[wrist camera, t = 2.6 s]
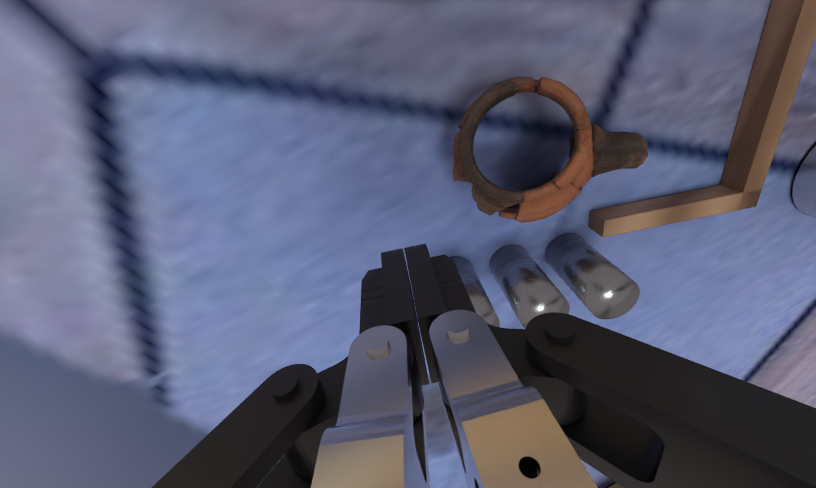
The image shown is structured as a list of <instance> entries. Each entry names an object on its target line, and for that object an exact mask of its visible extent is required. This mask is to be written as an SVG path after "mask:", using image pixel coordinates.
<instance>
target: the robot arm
mask: <svg viewBox="0 0 816 488" xmlns="http://www.w3.org/2000/svg"><path fill="white" fill-rule="evenodd" d="M792 197H793V201H794V204H795V205H796V207H797V208H798V210H800V211H801V212H803V213H804V214H807V215H810V216H813V217H816V146H815V147H814V148H813V149H812V150H811V151H810V153H809V154H808V156H807V157H806V159H805V160H804V161H803V163H802V164H801V166H800V169H799V171H798V173H797V175H796V177H795V181H794V184H793V193H792ZM405 254H406V259H407V265H408V270H409V275H410V280H409V275H408V271H407V266H406V261H405V257H404V252H403V248H402V249H397V250H392V251H388V252H383V253H381V260H382V268H378V269H374V270H369V271H368V272H367V274H366V275H365V277H364V278H363V280H362V287H361V292H362V293H361V310H360V334H359V336H357V338H356V339H355V340H354V341H353V343H352V344H351V346H350V350H349V355H348V357H346V358H345V359H344V360H342V361H341V362H339V363H338V364H336V365H334V366H332V367H330V368H328V369H325V370H323V371H321V372H319V373H316V371H315V370H314V369H313V368H312V367H311V366H309V365H306V364H294V365H290V366H287V367H284V368H282V369H280V370H278V371H277V372H275V373H274V374H272V375H271V376H270V377H269V378H267V379H266V380H265V381H264V382H263V383H262V384H261V385H260V386H259V387H258V388H257V389H256V390H255V391H254V392H253V393H252V394H250V395H249V396H248V397H247V398H246V399H245V400H244V401H243V402H242V403H241V404H240V405H239V406H238V407H237V408H236V409H235V410H233V411H232V412H231V413H230V414H229V415H228V416H227V417H226V418H225V419H224V420H223V421H222V422H221V423H220V424H219V425H218V426H217V427H215V428H214V429H213V430H212V431H211V432H210V433H209V434H208V435H207V436H206V437H205V438H204V439H203V440H202V441H201V442H200V443H198V444H197V445H196V446H195V447H194V448H193V449H192V450H191V451H190V452H189V453H188V454H187V455H186V456H185V457H184V458H183V459H181V460H180V461H179V462H178V463H177V464H176V465H175V466H174V467H173V468H172V469H171V470H170V471H169V472H168V473H167V474H166V475H164V476H163V477H162V478H161V479H160V480H159V481H158V482H157V483H156V484H155V485H154V486H153V487H152V488H256V487H257V486H258V485H259V486H258V487H257V488H430V479H429V466H428V452H427V439H426V425H425V413H424V408H423V407H424V398H423V391H422V385H426V384H429V380H428V374H427V369H426V364H425V358H424V353H423V347H422V342H421V337H422V341H423V346H424V350H425V355H426V360H427V364H428V369H429V373H430V378H431V383H435V382H439V386H440V390H441V395H442V399H443V404H444V409H445V413H446V416H447V420H448V423H449V426H450V430H451V433H452V436H453V439H454V443H455V446H456V449H457V453H458V456H459V459H460V463H461V466H462V469H463V473H464V476H465V479H466V483H467V486H468V488H598V487H597V486H596V484H595V482H594V481H593V479H592V478H591V476H590V474H589V473H588V471H587V469H586V468H585V466H584V465H583V463H582V461H581V460H583V461H584V462H586V463H587V464H589V465H590V466H592V467H593V468H595V469H596V470H598V471H599V472H601V473H602V474H604V475H605V476H607V477H608V478H610V479H611V480H613V481H615V482H616V483H618V484H619V485H621V486H622V487H624V488H816V408H813V407H811V406H808V405H806V404H803V403H800V402H798V401H795V400H792V399H790V398H787V397H785V396H782V395H779V394H777V393H774V392H772V391H769V390H766V389H764V388H761V387H758V386H756V385H753V384H751V383H748V382H745V381H743V380H740V379H737V378H735V377H732V376H730V375H727V374H724V373H722V372H719V371H716V370H714V369H711V368H709V367H706V366H703V365H701V364H698V363H695V362H693V361H690V360H688V359H685V358H682V357H680V356H677V355H674V354H672V353H669V352H667V351H664V350H661V349H659V348H656V347H653V346H651V345H648V344H646V343H643V342H640V341H638V340H635V339H632V338H630V337H627V336H625V335H622V334H619V333H617V332H614V331H612V330H609V329H606V328H604V327H601V326H598V325H596V324H593V323H591V322H588V321H585V320H583V319H580V318H577V317H575V316H572V315H569V314H565V313H557V312H550V313H544V314H540V315H538V316H536V317H534V318H532V319H531V320H530V321H529V323H528V324H527V326H526V329H507V328H500V327H496V326H493V325H490V324H488V323H486V321H485V320H484V319H483V318H482V317H481V316H480V315H478V314H477V313H476V311H475V309H474V307H473V304H472V302H471V300H470V297H469V295H468V293H467V290H466V288H465V286H464V283H463V281H462V279H461V276H460V274H459V272H458V269H457V267H456V265H455V262H454V261H453V260H451V259H450V258H448V257H447V256H446V255H441V256H436V257H431V258H430V256H429V252H428V249H427V246H426V244H421V245H416V246H411V247H407V248H405ZM410 281H411V284H410ZM411 286H412V289H411ZM412 291H413V294H412ZM413 297H414V299H413ZM414 302H415V304H414ZM415 307H416V309H415ZM416 313H417V315H416ZM417 318H418V320H417ZM418 323H419V326H418ZM419 327H420V331H419ZM420 332H421V336H420ZM283 455H284V456H283ZM282 456H283V457H282ZM280 459H281V460H280ZM580 459H581V460H580ZM279 460H280V461H279ZM278 461H279V462H278ZM277 462H278V463H277ZM274 466H275V467H274ZM273 467H274V468H273ZM272 468H273V469H272ZM271 469H272V470H271ZM269 472H270V473H269ZM268 473H269V474H268ZM267 474H268V475H267ZM266 475H267V476H266ZM264 478H265V479H264ZM263 479H264V480H263ZM262 480H263V481H262ZM261 481H262V482H261Z"/></svg>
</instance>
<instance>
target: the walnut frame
mask: <svg viewBox="0 0 816 488" xmlns="http://www.w3.org/2000/svg"><path fill="white" fill-rule="evenodd" d="M815 34H816V0H772V1H771V4H770V8H769V12H768V15H767V19H766V22H765V26H764V29H763V33H762V36H761V40H760V44H759V47H758V51H757V54H756V58H755V61H754V65H753V68H752V72H751V76H750V79H749V83H748V86H747V90H746V93H745V97H744V100H743V104H742V108H741V111H740V115H739V118H738V122H737V125H736V129H735V132H734V136H733V140H732V143H731V147H730V150H729V154H728V157H727V161H726V164H725V168H724V172H723V175H722V179H721V182H720V185H716V186H711V187H706V188H701V189H696V190H691V191H686V192H681V193H676V194H671V195H667V196H662V197H657V198H652V199H647V200H642V201H637V202H632V203H627V204H622V205H617V206H612V207H607V208H602V209H597V210H592V211H590V218H589V227H590V228H591V229H592V230H594V231H595V232H596V233H598V234H599V235H600V236H602V237H607V236H612V235H617V234H622V233H627V232H632V231H637V230H642V229H647V228H651V227H656V226H661V225H666V224H671V223H676V222H681V221H686V220H691V219H696V218H701V217H706V216H711V215H716V214H721V213H726V212H731V211H736V210H741V209H746V208H751V207H756V205H757V202H758V199H759V196H760V193H761V190H762V187H763V185H764V182H765V179H766V176H767V173H768V170H769V167H770V164H771V161H772V159H773V156H774V153H775V150H776V147H777V144H778V141H779V138H780V135H781V133H782V130H783V127H784V124H785V121H786V118H787V115H788V112H789V109H790V107H791V104H792V101H793V98H794V95H795V92H796V89H797V86H798V84H799V81H800V78H801V75H802V72H803V69H804V66H805V63H806V60H807V58H808V55H809V52H810V49H811V46H812V43H813V40H814V37H815Z"/></svg>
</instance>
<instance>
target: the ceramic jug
mask: <svg viewBox="0 0 816 488" xmlns="http://www.w3.org/2000/svg"><path fill="white" fill-rule="evenodd" d="M608 488H624V487H622V486H621V485H619V484H618V483H616V484H614V485H612V486H610V487H608Z"/></svg>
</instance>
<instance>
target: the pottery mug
mask: <svg viewBox="0 0 816 488" xmlns="http://www.w3.org/2000/svg"><path fill="white" fill-rule="evenodd" d="M522 92H535V93H538V95H541V96H545V97H548V98H550V99H552V100H554V101H555V102H557V103H558V104H559V105H560V106H561V107H563V109H564V110H565V111H566V112H567V114H568V115H569V117H570V119H571V121H572V124H573V128H574V133H575V136H573V137H571V138H570V152H569V161H568V163H567V164H566V166H565V167H564V168H563V170H562V171H561V172H557V173H556V175H555V178H553V179H552V180H551V181H549V182H547V183H545V184H544V185H541V186H539V187H536V188H533V189H527V190H523V191H513V190H507V189H504V188H501V187H498V186H497V185H495V184H493V183H491V182H490V181H489V180H488V179H486V178H485V176H484V175H482V173H481V172H480V171H479V170H478V167H477V165H476V162H475V159H474V155H473V140H474V136H475V132H476V130H477V127H478V125H479V123H480V122H481V120H482V118H483V117H484V116H485V115H486V113H487V112H488V111H489V110H490V109H491V108H492V107H494V106H495V105H497V104H498V103H499V102H501V101H503V100H505V99H506V98H509V97H511V96H514V95H515V94H517V93H522ZM458 127H459V129H460V130H459V131H458V133H457V134H456V136H455V138H454V165H453V167H454V168H453V179H454V181H456V180H458V181H467V182H470V183H472V184H473V187H472V196H473V199H474V200H475V201H476V202H477V207H478V209H479V210H480V211H482V212H484V213H486V214H488V215H492V214H493V213H495V212H496V211H499V216H500V217H503V218H507V219H515V220H517V221H519V222H531V221H536V220H540V219H544V218H546V217H549V216H551V215H553V214H555V213H556V212H558V211H559V210H561V209H562V208H564V207H565V206H566V205H567V204H569V203H570V202H571V201H572V200H574V199H575V198H576V196H577V195H578V194H579V193H580V192H581V190H582V186H584V185H585V184H586V183H587V182H588V181H589V180H590V178H591V177H594V176H596V175H599V174H602V173H605V172H609V171H613V170H617V169H622V168H637V167H639V166H640V165H641V164H642V163H643V162H644V160H645V159H646V158H647V156H648V152H647V142H646V141H645V139H644V138H643V136H642V135H640V134H638V133H628V132H608V131H605V130H603V129H601V128H600V127H599V126H597V125H596V124H592V125H591V122H590V119H589V115H588V113H587V111H586V109H585V106H584V105H583V103H582V101H581V100H580V99H579V97H578V96H577V94H575V93H574V92H573V91H572V90H571V89H570V88H568V87H566V86H565V85H564V84H562V83H561V82H557V81H555V80H552V79H548V78H541V79H540V80H534V79H533V78H532V77H523V78H515V79H510V80H507V81H504V82H502V83H498V84H495V85H494V86H492V87H491V88H489V89H488V90H487V91H485V92H484V93H483V94H482V95H481V96H480V97H478V98H477V99H476V100H475V101H474V102H473V104H472V105H471V106H470V107H469V108H468V110H467V111H466V112H465V114H464V116H463V117H462V119H461V121H460V123H459V126H458ZM516 204H519V208H507V207H510V206H513V205H516Z"/></svg>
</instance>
